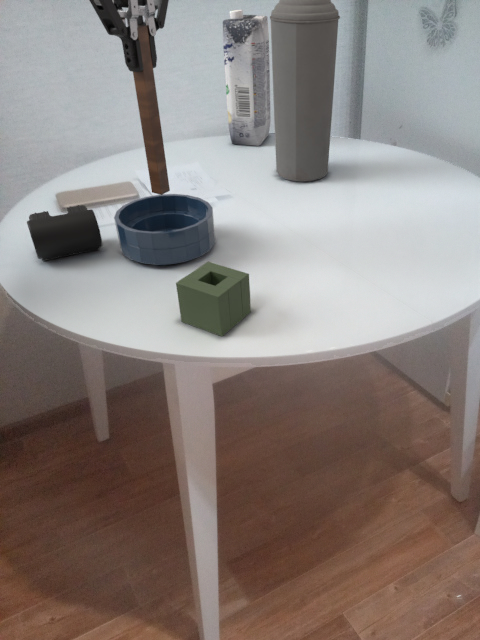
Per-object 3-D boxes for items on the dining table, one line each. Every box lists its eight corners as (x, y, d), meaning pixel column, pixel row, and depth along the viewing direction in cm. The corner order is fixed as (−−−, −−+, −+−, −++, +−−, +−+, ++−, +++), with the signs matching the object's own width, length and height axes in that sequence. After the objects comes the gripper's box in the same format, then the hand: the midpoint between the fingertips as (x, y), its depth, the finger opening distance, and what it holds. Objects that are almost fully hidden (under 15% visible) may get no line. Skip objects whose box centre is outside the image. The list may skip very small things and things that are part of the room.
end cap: (41, 269, 87) (28, 228, 83) (35, 250, 92) (23, 211, 88) (105, 255, 90) (96, 216, 86) (96, 238, 95) (87, 200, 91)
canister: (260, 177, 118) (254, -28, 95) (293, 160, 126) (294, -32, 104) (312, 189, 112) (318, -25, 90) (342, 170, 120) (355, -30, 98)
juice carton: (273, 135, 141) (270, 7, 123) (262, 148, 133) (258, 13, 116) (239, 133, 142) (232, 6, 125) (226, 145, 134) (217, 12, 117)
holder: (222, 336, 73) (218, 296, 69) (181, 321, 75) (175, 282, 72) (251, 312, 77) (249, 273, 73) (211, 299, 80) (207, 261, 76)
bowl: (174, 278, 85) (169, 241, 81) (101, 254, 91) (93, 219, 87) (233, 239, 95) (231, 205, 91) (164, 220, 101) (159, 187, 97)
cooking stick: (161, 195, 86) (136, 27, 72) (151, 192, 87) (125, 26, 73) (170, 190, 87) (147, 25, 73) (160, 188, 88) (136, 24, 74)
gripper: (135, -96, 71) (155, 58, 82) (49, -97, 62) (85, 76, 73) (181, -97, 68) (196, 63, 79) (97, -99, 59) (127, 82, 70)
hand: (142, 68), depth 76 cm, fingers closed on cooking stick, 2 cm apart
